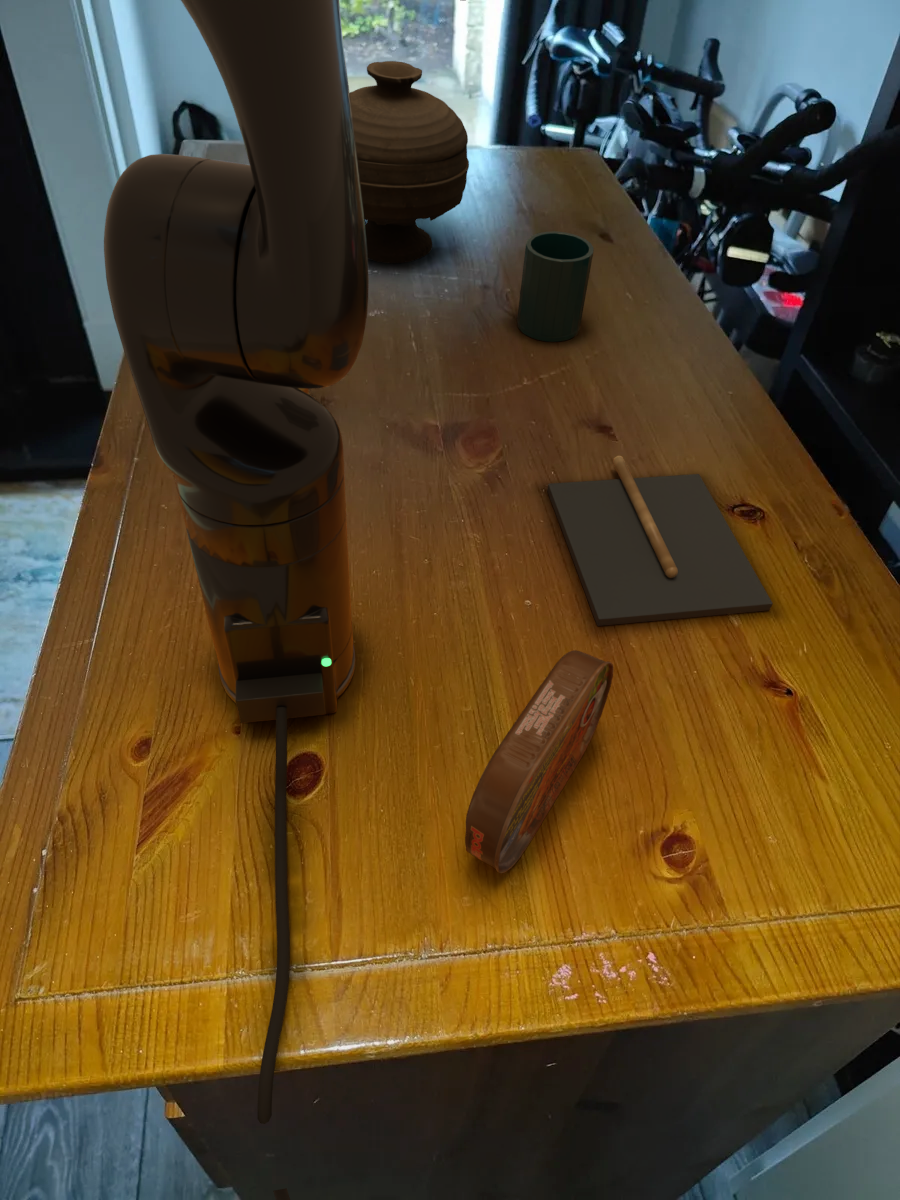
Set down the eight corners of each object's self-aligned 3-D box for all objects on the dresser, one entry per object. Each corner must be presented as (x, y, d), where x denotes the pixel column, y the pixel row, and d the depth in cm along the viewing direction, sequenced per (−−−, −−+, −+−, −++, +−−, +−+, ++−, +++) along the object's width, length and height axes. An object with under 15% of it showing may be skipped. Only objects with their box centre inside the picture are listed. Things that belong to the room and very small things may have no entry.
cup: (586, 340, 92) (601, 260, 86) (524, 343, 91) (534, 262, 85) (570, 309, 97) (583, 230, 90) (510, 311, 96) (519, 231, 89)
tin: (495, 899, 49) (510, 828, 43) (449, 870, 50) (457, 797, 44) (605, 720, 58) (630, 640, 52) (564, 699, 59) (584, 618, 53)
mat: (769, 610, 66) (773, 603, 65) (597, 626, 64) (599, 619, 63) (696, 480, 76) (699, 473, 76) (546, 490, 74) (548, 483, 74)
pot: (495, 232, 108) (499, 55, 93) (417, 297, 99) (407, 112, 83) (381, 199, 114) (367, 28, 99) (298, 257, 105) (268, 78, 89)
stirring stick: (680, 575, 66) (645, 420, 68) (668, 576, 66) (633, 421, 68) (652, 597, 73) (621, 457, 76) (641, 599, 73) (610, 459, 76)
